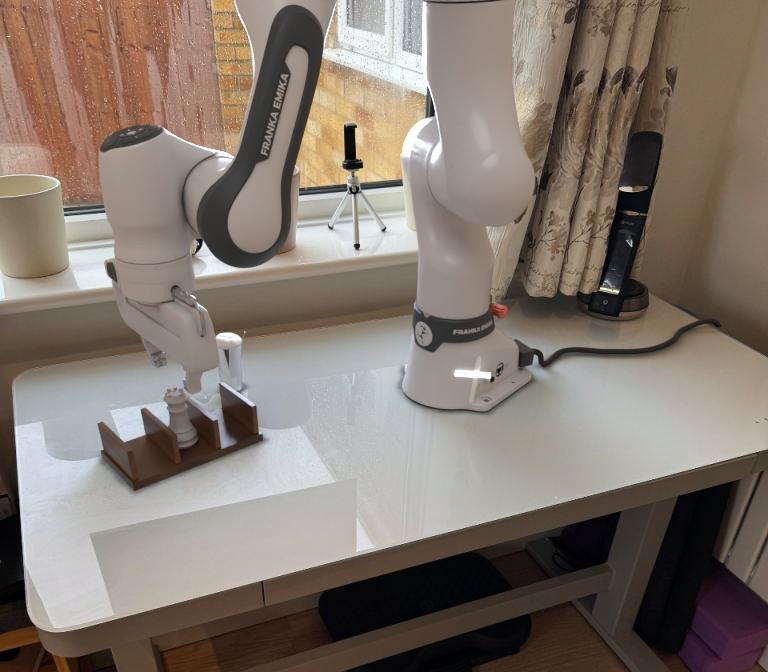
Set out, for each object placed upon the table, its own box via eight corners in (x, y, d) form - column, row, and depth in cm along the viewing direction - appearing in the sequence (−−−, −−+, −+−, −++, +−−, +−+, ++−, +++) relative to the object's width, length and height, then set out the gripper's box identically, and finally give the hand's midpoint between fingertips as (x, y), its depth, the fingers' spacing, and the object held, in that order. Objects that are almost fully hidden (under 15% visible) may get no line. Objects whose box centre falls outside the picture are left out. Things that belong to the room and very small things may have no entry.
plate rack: (227, 412, 114) (223, 379, 111) (263, 440, 108) (260, 406, 105) (101, 457, 104) (93, 422, 100) (134, 490, 98) (126, 454, 94)
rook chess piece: (195, 451, 104) (187, 400, 99) (163, 450, 104) (153, 399, 99) (201, 433, 107) (194, 383, 102) (170, 432, 107) (162, 383, 102)
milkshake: (245, 397, 118) (239, 338, 112) (213, 393, 119) (206, 334, 113) (255, 383, 122) (250, 326, 116) (224, 380, 123) (217, 322, 117)
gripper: (224, 295, 86) (237, 400, 95) (143, 248, 98) (161, 345, 107) (175, 308, 83) (193, 416, 92) (97, 258, 95) (120, 358, 104)
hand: (175, 377), depth 99 cm, fingers open, 8 cm apart
